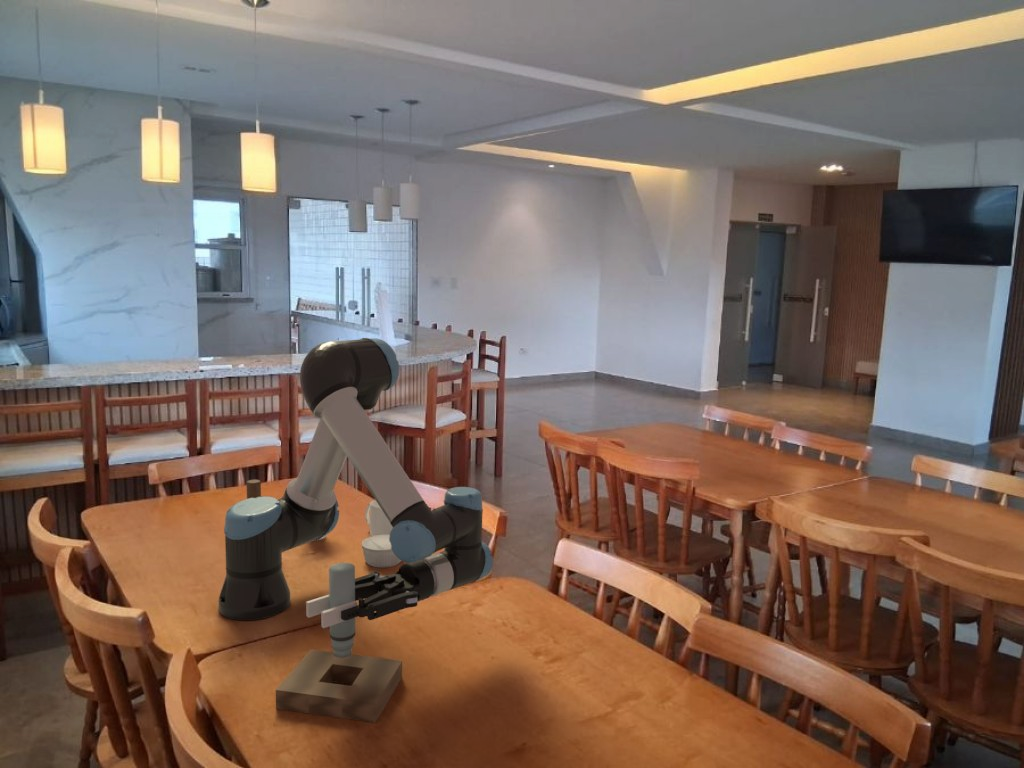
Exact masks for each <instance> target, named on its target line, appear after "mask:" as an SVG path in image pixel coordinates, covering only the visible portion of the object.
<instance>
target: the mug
mask: <svg viewBox="0 0 1024 768" xmlns="http://www.w3.org/2000/svg"><path fill="white" fill-rule="evenodd" d="M364 515H365V517H364V520H365V522H366V523H367V526H368V527H369V535H370V537H371V536H376V535H390V532H391V530H392V529H393V527H392V525H391V523H390V522H389V520H388V519H387V517H386V516H385V514H384V512H383V511H382V509H381V508H380V506H379V505H378V503H377V502H376V500H375V499H373V500H371V501H370V502H369V504H367V506H366V509H365V513H364Z"/></svg>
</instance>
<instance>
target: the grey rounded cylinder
mask: <svg viewBox="0 0 1024 768" xmlns="http://www.w3.org/2000/svg"><path fill="white" fill-rule="evenodd" d="M355 579H356V566H355V565H354V564H353V563H350V562H338V563H334V564H332V565H330V566H329V567H328V593H329V594H328V595H329V609H331V608H334V607H337V606H340V605H343V604H346V603H349V602H352V601H355ZM355 636H356V617H355V618H352V619H350V620H346V621H343V622H340V623H338V624H335V625H332V626H329V638H330V639H331V648H332V649H333V652H334V655H335V656H336V657H338V658H344V657H348V656H349V655H351V654H352V648H353V647H354V646H355V644H354V642H355V641H354V638H355Z"/></svg>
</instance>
